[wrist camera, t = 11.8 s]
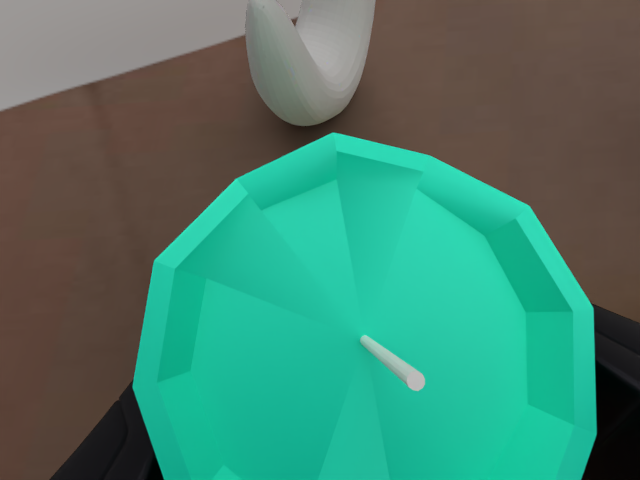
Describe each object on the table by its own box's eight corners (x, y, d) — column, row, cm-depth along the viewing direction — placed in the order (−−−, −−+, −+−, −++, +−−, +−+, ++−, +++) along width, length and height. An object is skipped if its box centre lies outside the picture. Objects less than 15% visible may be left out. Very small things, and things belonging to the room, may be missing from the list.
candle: (412, 317, 14) (935, 432, 2) (314, 404, 13) (376, 1267, 2) (332, 221, 15) (435, -60, 3) (233, 298, 14) (-159, 323, 2)
